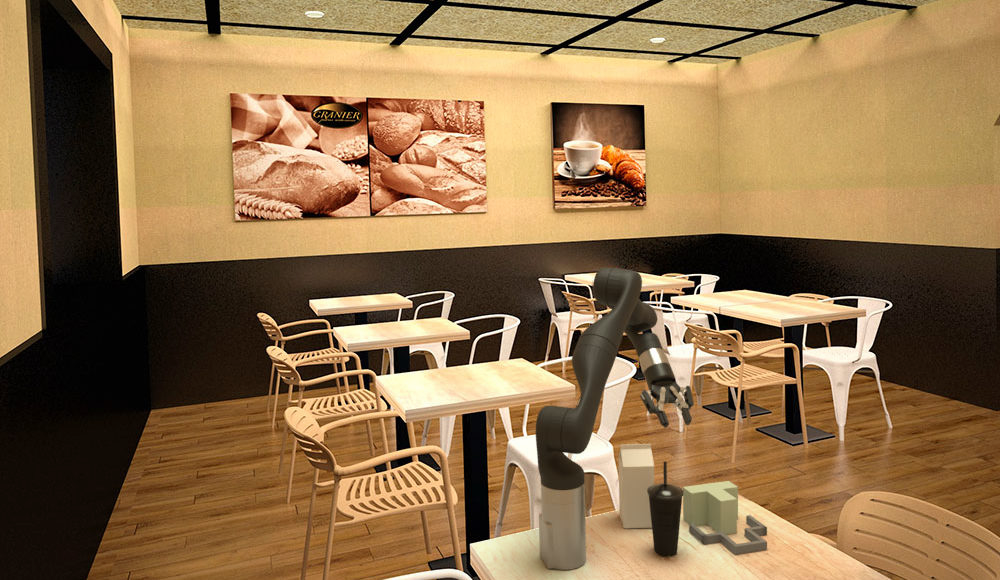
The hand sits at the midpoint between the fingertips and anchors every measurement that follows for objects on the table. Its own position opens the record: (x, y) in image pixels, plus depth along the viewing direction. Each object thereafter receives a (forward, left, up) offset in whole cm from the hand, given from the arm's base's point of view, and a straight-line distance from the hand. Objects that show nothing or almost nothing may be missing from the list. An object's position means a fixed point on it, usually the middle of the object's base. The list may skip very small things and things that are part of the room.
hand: (677, 424), depth 182 cm
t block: (0, -19, -18) cm, 26 cm away
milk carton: (-17, -12, -19) cm, 28 cm away
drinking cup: (-17, -27, -18) cm, 37 cm away
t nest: (0, -26, -18) cm, 32 cm away
